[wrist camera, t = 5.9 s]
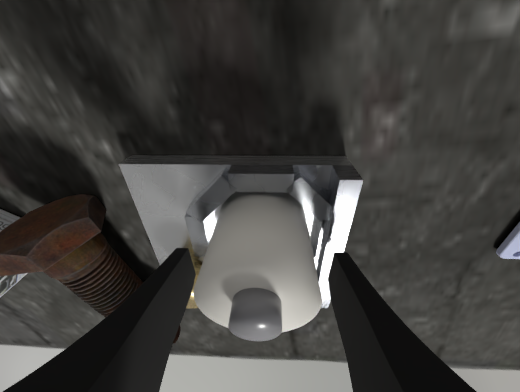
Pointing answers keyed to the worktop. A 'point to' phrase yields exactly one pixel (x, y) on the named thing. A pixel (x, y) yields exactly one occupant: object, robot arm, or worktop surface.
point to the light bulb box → (4, 283)
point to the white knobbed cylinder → (259, 267)
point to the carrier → (240, 180)
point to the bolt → (70, 252)
